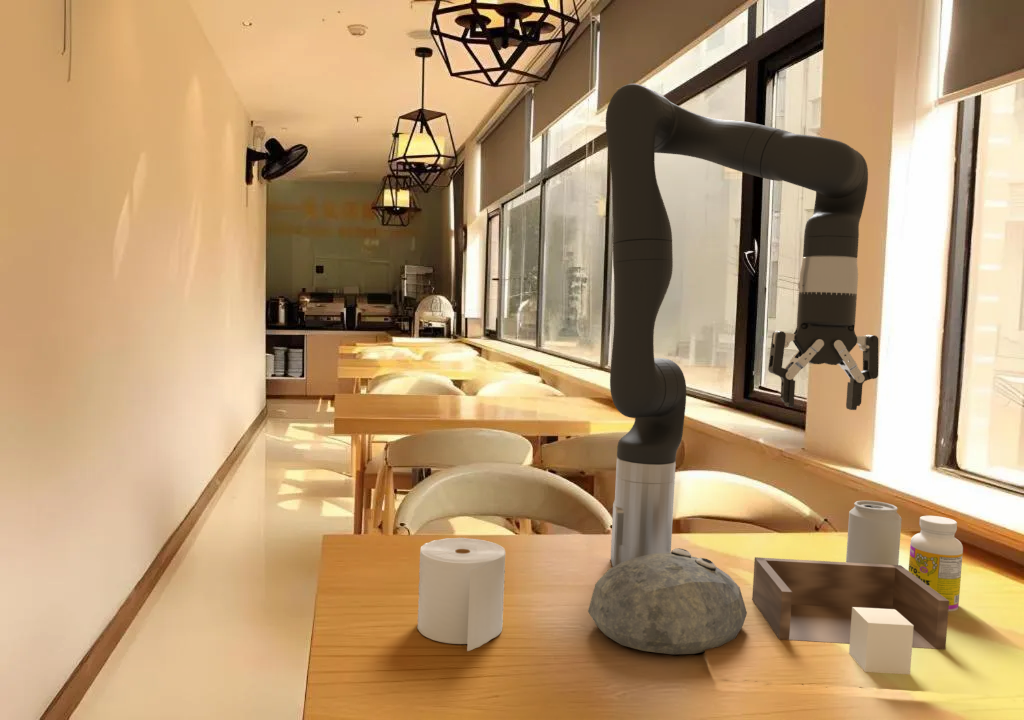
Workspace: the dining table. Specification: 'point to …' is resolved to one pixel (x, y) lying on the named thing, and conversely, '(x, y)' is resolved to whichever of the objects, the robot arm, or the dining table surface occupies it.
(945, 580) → the supplement bottle
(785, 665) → the dining table surface
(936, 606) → the walnut box
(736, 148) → the robot arm
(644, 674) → the dining table surface
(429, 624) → the toilet tissue
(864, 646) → the cream block
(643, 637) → the decorative stone
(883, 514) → the can
